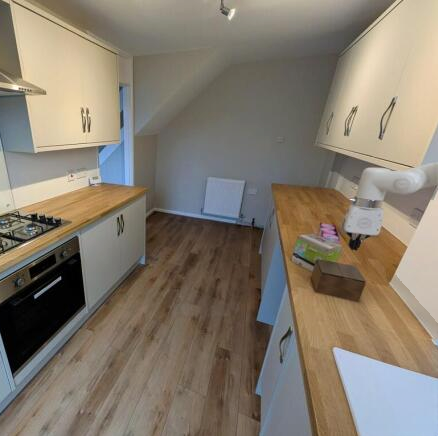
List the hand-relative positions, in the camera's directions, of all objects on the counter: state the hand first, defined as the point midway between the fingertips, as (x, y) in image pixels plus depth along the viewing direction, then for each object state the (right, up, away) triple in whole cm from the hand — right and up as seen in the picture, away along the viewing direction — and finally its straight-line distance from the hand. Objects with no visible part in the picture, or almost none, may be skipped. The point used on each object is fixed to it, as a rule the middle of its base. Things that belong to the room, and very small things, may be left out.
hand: (352, 248), depth 91 cm
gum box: (+16, -7, +38) cm, 42 cm away
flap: (+1, -10, +3) cm, 10 cm away
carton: (-2, -18, +8) cm, 20 cm away
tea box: (+1, -12, +24) cm, 27 cm away
